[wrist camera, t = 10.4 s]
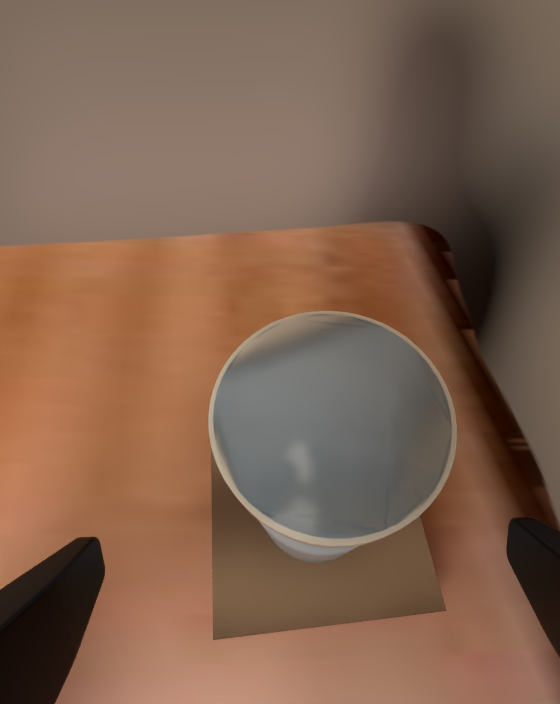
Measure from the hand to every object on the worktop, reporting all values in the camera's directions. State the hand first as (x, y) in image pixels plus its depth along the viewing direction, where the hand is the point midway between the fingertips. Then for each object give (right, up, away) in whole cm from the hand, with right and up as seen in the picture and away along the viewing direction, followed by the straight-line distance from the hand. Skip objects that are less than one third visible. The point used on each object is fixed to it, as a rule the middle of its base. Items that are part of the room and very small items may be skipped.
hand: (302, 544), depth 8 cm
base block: (+1, -5, +13) cm, 14 cm away
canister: (+1, -3, +10) cm, 11 cm away
